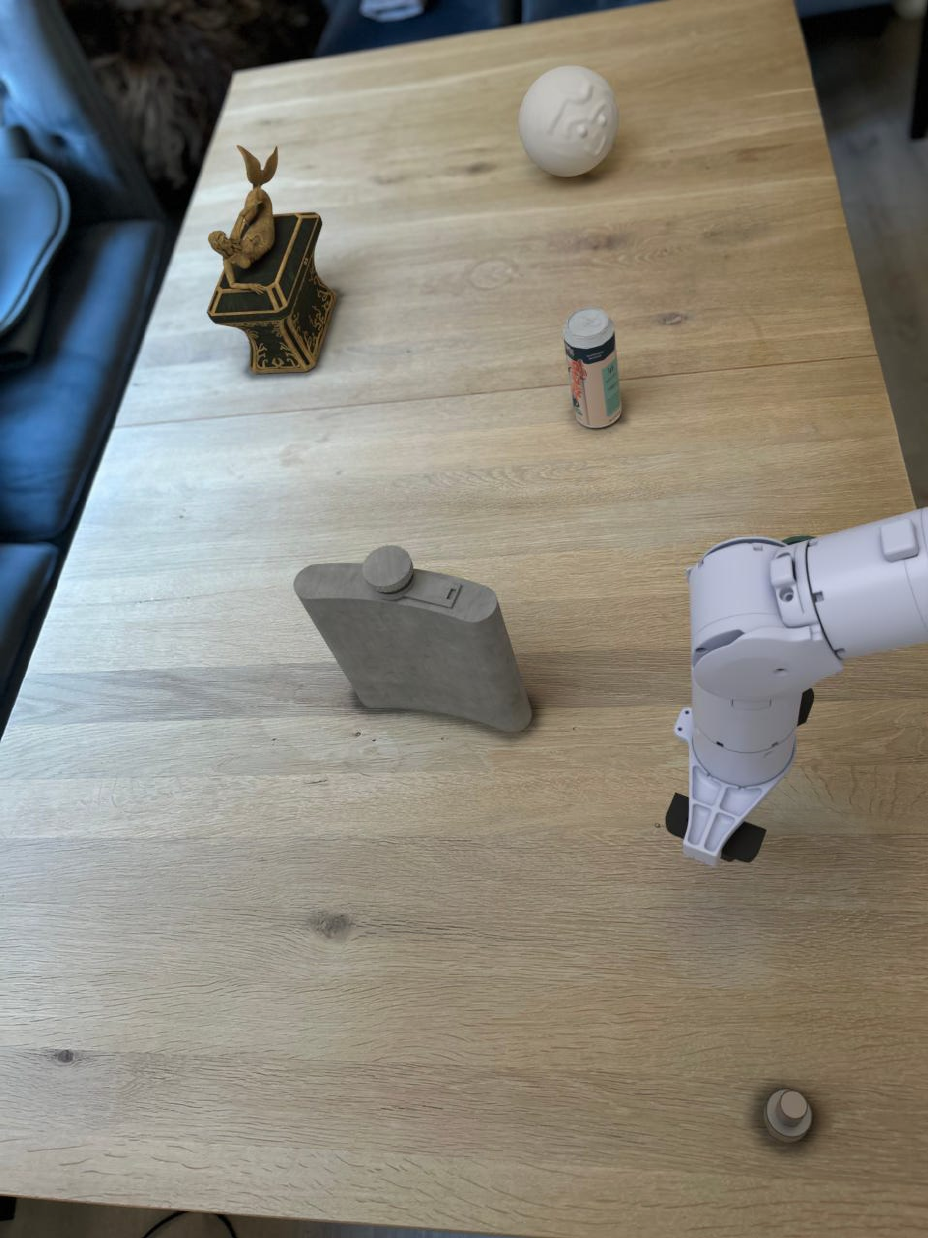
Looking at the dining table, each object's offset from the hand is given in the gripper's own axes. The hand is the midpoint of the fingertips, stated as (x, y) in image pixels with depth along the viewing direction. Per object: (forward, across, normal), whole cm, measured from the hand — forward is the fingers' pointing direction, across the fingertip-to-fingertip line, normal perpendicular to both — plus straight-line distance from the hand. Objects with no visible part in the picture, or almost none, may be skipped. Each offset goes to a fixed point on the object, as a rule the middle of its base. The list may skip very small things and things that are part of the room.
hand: (737, 800), depth 66 cm
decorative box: (+10, -42, -67) cm, 80 cm away
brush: (+10, +16, +9) cm, 21 cm away
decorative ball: (+10, -76, -47) cm, 90 cm away
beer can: (+10, -38, -27) cm, 48 cm away
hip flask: (+10, -4, -27) cm, 29 cm away
